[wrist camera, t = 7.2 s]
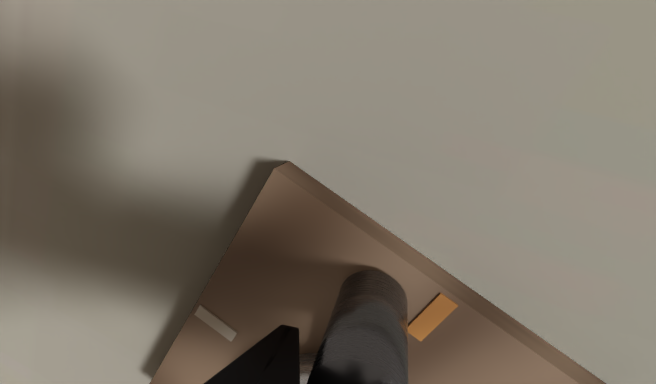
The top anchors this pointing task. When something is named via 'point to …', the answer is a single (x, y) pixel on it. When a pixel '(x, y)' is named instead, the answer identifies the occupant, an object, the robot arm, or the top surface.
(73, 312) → the top surface
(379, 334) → the crank handle
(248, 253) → the dial plate
